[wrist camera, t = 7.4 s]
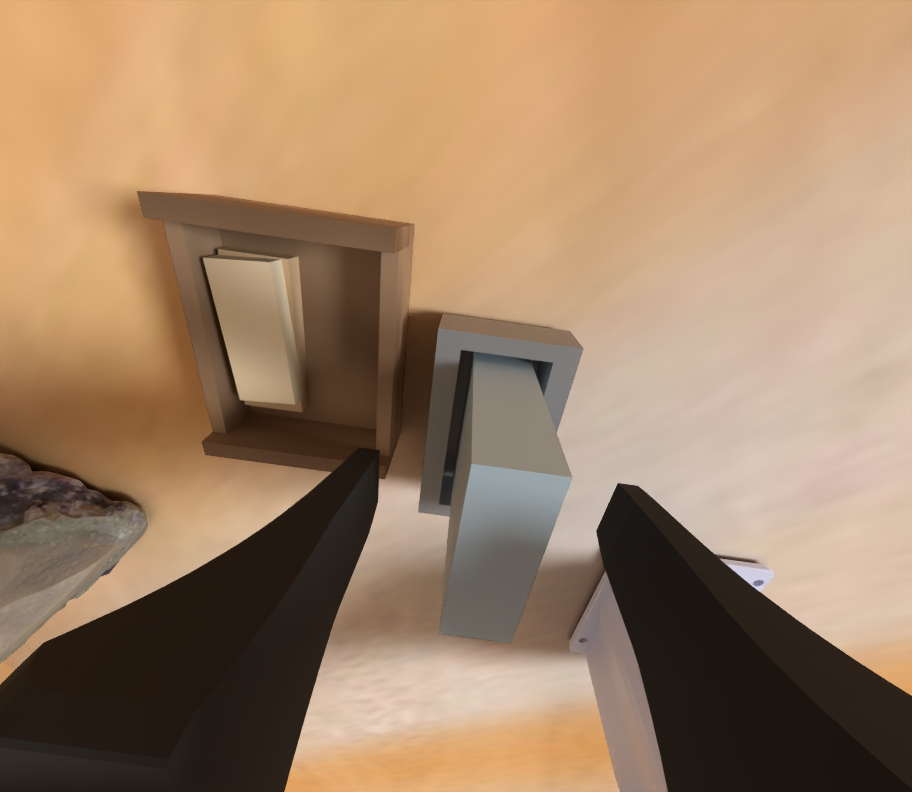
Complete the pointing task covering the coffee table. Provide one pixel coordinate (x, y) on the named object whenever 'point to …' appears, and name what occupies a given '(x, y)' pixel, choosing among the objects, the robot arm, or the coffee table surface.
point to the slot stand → (455, 345)
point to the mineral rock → (53, 545)
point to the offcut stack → (262, 325)
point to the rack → (325, 325)
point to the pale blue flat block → (500, 499)
